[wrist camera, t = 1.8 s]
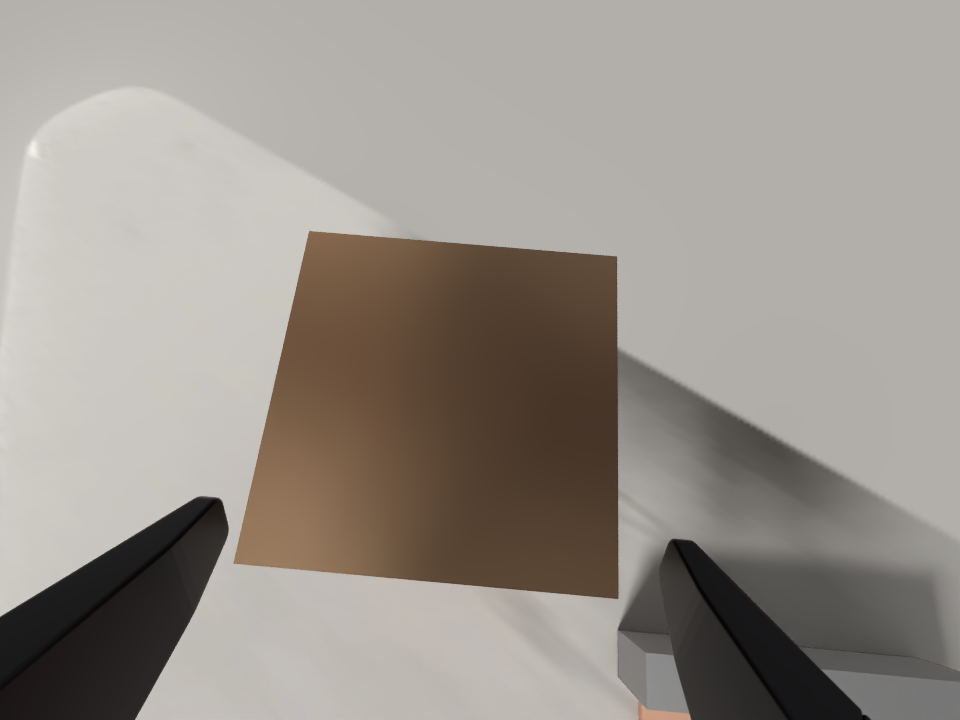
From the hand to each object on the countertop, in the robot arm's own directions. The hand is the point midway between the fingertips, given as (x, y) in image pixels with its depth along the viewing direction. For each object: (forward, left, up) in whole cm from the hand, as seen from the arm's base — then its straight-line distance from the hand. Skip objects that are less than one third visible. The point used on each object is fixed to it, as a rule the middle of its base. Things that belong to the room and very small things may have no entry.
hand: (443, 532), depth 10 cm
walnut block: (+2, 0, -10) cm, 10 cm away
